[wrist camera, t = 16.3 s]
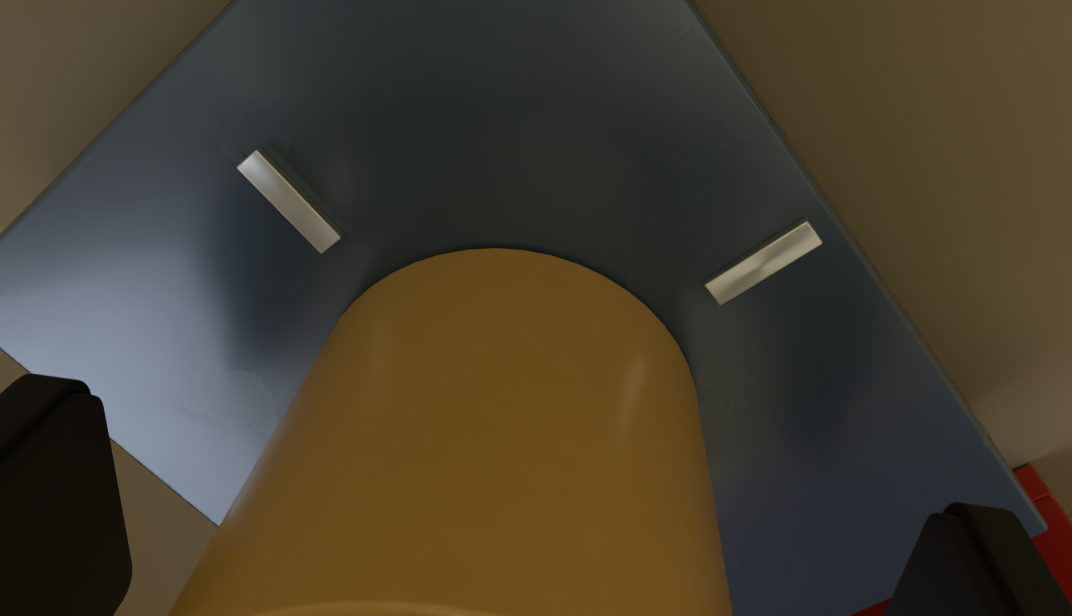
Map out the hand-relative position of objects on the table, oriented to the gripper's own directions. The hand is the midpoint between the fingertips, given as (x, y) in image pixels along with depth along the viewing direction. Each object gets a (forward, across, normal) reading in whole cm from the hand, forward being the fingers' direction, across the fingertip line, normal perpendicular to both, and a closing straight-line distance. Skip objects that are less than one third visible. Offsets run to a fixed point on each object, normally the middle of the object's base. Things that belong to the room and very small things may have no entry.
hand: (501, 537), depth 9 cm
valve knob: (+2, 0, 0) cm, 2 cm away
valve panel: (+5, 0, 0) cm, 5 cm away
